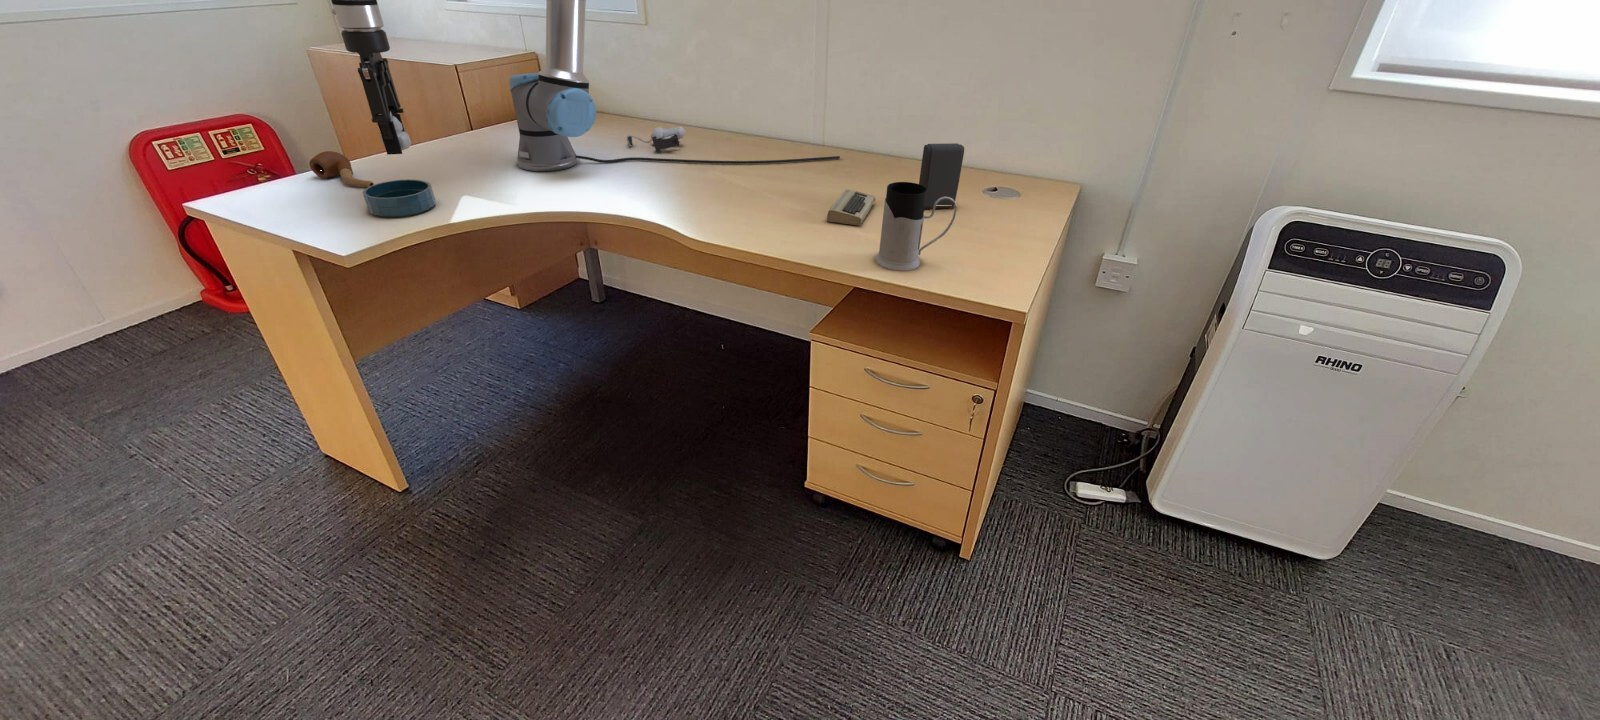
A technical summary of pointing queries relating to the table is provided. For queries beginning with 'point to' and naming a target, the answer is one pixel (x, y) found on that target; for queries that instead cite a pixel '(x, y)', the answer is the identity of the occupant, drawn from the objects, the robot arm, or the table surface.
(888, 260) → the glass holder
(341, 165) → the pipe
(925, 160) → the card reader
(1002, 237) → the table surface
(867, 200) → the computer
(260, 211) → the table surface
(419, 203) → the bowl
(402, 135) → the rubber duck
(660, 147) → the clip-on lamp
